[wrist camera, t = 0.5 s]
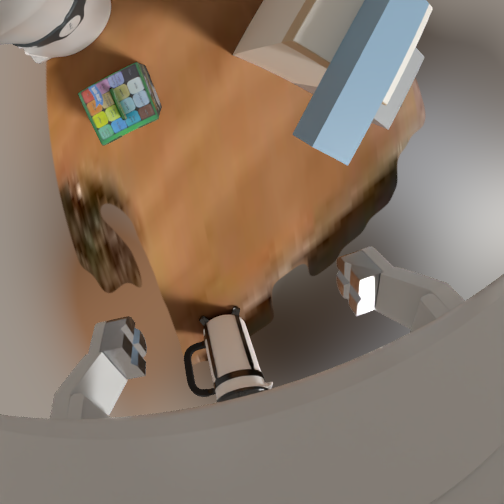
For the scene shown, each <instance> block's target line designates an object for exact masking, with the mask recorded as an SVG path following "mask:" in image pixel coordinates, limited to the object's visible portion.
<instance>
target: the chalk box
mask: <svg viewBox="0 0 504 504" xmlns="http://www.w3.org/2000/svg"><path fill="white" fill-rule="evenodd" d="M78 95H79V98H80V100H81V102H82V105H83V107H84V109H85V111H86V113H87V115H88V118H89V120H90V122H91V124H92V126H93V128H94V130H95V132H96V134H97V136H98V138H99V140H100V142H101V144H102V145H103V146H104V145H106V144H109V143H111V142H113V141H115V140H117V139H119V138H121V137H122V136H123V135H125V134H127V133H129V132H131V131H133V130H135V129H137V128H140V127H143V126H145V125H147V124H149V123H151V122H153V121H155V120H157V119H159V115H160V111H161V108H162V107H161V103H160V101H159V98H158V96H157V93H156V90H155V88H154V85H153V83H152V81H151V78H150V75H149V73H148V70H147V68H146V66H145V65H142V64H140V63H138V62H135V63H133V64H131V65H129V66H127V67H125V68H123V69H121V70H119V71H117V72H115V73H113V74H111V75H109V76H107V77H105V78H103V79H102V80H100V81H98V82H96V83H94V84H92V85H91V86H89V87H87V88H85V89H84V90H82V91H80V92H79V93H78Z"/></svg>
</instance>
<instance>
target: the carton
mask: <svg viewBox="0 0 504 504" xmlns="http://www.w3.org/2000/svg"><path fill="white" fill-rule="evenodd" d="M363 2H364V0H263V2H262V4H261V5H260V7H259V9H258V10H257V12H256V14H255V15H254V17H253V19H252V20H251V22H250V24H249V26H248V27H247V29H246V31H245V33H244V35H243V36H242V38H241V40H240V42H239V44H238V46H237V48H236V49H235V51H234V53H233V55H234V56H236V57H238V58H241V59H243V60H246V61H248V62H250V63H252V64H255V65H257V66H259V67H261V68H263V69H266V70H268V71H270V72H272V73H274V74H276V75H278V76H280V77H282V78H284V79H286V80H288V81H290V82H292V83H297V84H303V85H309V86H314V87H318V85H319V83H320V81H321V79H322V77H323V75H324V74H325V72H326V70H327V68H328V66H329V64H330V62H331V61H332V59H333V57H334V55H335V53H336V51H337V49H338V48H339V46H340V44H341V42H342V40H343V38H344V37H345V35H346V33H347V31H348V29H349V27H350V26H351V24H352V22H353V20H354V18H355V17H356V15H357V13H358V11H359V9H360V8H361V6H362V4H363ZM432 9H433V8H432V7H431V5H430V4H429V6H428V8H427V10H426V13H425V15H424V17H423V19H422V22H421V24H420V26H419V28H418V30H417V32H416V35H415V37H414V39H413V41H412V43H411V45H410V47H409V49H408V52H407V54H406V56H405V58H404V60H403V62H402V64H401V66H400V68H399V70H398V72H397V74H396V76H395V78H394V80H393V82H392V84H391V86H390V88H389V90H388V92H387V94H386V96H385V98H384V100H383V101H382V103H381V104H383V105H387V104H388V102H389V100H390V98H391V96H392V94H393V92H394V90H395V88H396V86H397V84H398V82H399V80H400V78H401V76H402V74H403V72H404V70H405V68H406V66H407V64H408V62H409V60H410V58H411V56H412V54H413V52H414V49H415V47H416V45H417V43H418V41H419V38H420V36H421V34H422V32H423V30H424V28H425V25H426V23H427V21H428V19H429V16H430V14H431V12H432Z"/></svg>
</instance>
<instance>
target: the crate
mask: <svg viewBox="0 0 504 504" xmlns="http://www.w3.org/2000/svg"><path fill="white" fill-rule="evenodd" d="M423 59H424V56H423V55H422V54H421V53H420V52H419V51H418V49H416V47H415V49H414V52H413V54H412V56H411V58H410V60H409V62H408V64H407V66H406V68H405V70H404V72H403V74H402V76H401V78H400V80H399V82H398V84H397V86H396V88H395V90H394V92H393V94H392V96H391V98H390V100H389V102H388V104H387V105H383V104H381V105H380V107H379V109H378V111H377V113H376V115H375V117H374V119H373V120H372V122H371V123H374V124H376V125H379V126H381V127H383V128H386V129H388V130H389V128H390V126H391V124H392V122H393V120H394V118H395V116H396V114H397V112H398V110H399V109H400V107H401V105H402V103H403V101H404V99H405V97H406V95H407V93H408V91H409V89H410V87H411V85H412V83H413V80H414V78H415V76H416V74H417V72H418V70H419V68H420V66H421V64H422V61H423ZM294 84H295V85H297V86H299V87H301V88H303V89H305V90H306V91H308V92H310V93H312V94H314V92H315V91H316V89H317V87H314V86H309V85H303V84H297V83H294Z"/></svg>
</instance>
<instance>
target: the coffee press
mask: <svg viewBox="0 0 504 504" xmlns="http://www.w3.org/2000/svg"><path fill="white" fill-rule="evenodd" d="M239 312H240V308H238V307H233V310H232V313H231V315H220V316H217V317H215V318H213V319H211V320H208V319H207V318H206V317H205V316H201V318H200V319H199V321H200V322H201V323H202V325H203V326H204V330H203V334H204V341H202V342H199V343H196V344H194V345H192V346H190V347H189V348H188V349H187V350H186V352H185V355H184V362H185V370H186V376H187V381H188V385H189V387H190V389H191V391H193V393H194V394H196V395H197V396H201V397H207V396H209V395H214V394H216V396H217V402H216V403H218V402H222V401H227V400H231V399H235V398H239V397H243V396H247V395H251V394H255V393H258V392H262V391H265V390H269V389H271V388H272V385H273V382H269V383H265V379H264V376H263V374H262V372H261V370H260V367H259V364H258V362H257V358H256V355H255V352H254V349H253V346H252V343H251V340H250V337H249V334H248V331H247V328H246V325H245V322H244V321H243V320H242V319H241V318H240V317H239ZM206 323H207V324H206ZM203 348H206V350H207V355H208V360H209V365H210V369H211V374H212V379H213V383H214V384H213V388H212V389H199V388H198V387H197V386H196V384H195V381H194V375H193V369H192V363H191V356H192V354H193V353H194V352H195V351H196V350H199V349H203Z"/></svg>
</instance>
